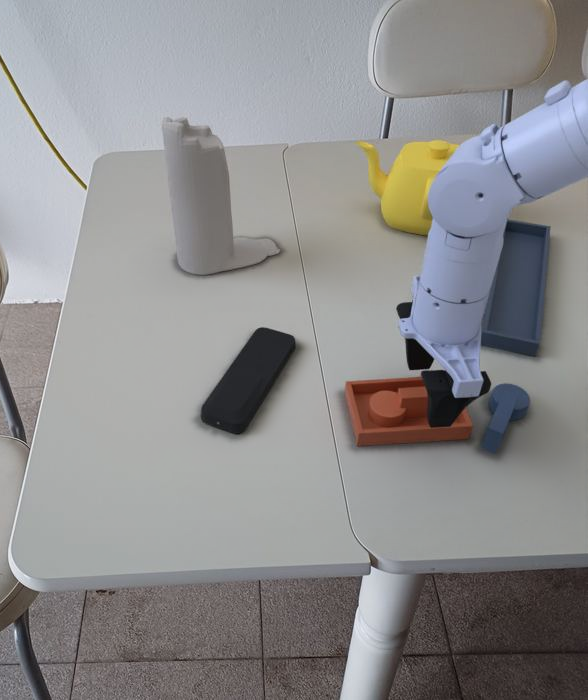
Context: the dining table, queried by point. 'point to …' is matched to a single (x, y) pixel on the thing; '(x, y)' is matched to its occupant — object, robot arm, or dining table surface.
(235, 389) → the remote control
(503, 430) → the slate spoon
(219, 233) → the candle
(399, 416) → the terracotta spoon
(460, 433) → the terracotta tray
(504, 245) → the slate tray
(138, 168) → the dining table surface
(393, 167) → the teapot
